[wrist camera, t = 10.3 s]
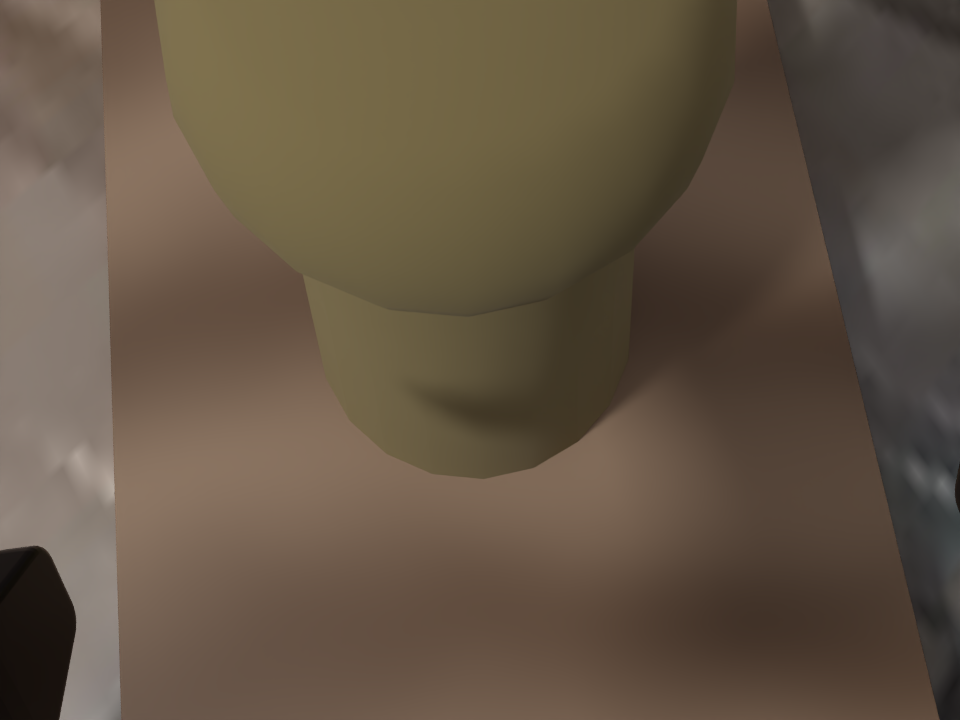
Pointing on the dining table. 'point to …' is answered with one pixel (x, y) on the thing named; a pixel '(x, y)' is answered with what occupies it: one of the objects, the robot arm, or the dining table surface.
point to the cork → (456, 192)
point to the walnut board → (506, 498)
